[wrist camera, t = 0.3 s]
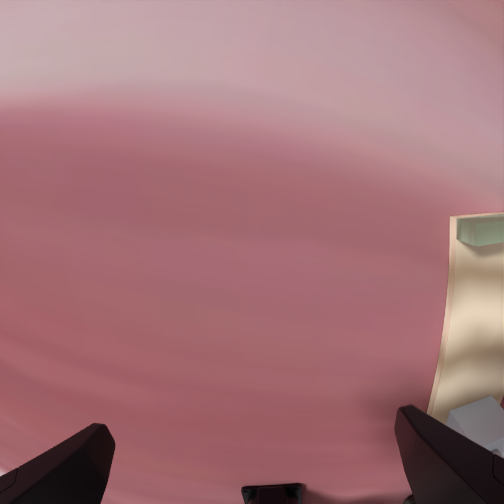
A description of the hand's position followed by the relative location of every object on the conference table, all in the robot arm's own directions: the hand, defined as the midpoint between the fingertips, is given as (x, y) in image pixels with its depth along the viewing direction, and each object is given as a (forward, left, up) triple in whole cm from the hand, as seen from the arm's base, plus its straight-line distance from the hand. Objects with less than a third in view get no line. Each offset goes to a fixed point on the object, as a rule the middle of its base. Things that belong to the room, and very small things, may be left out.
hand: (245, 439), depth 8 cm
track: (-10, -20, -14) cm, 26 cm away
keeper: (-18, -20, -13) cm, 30 cm away
